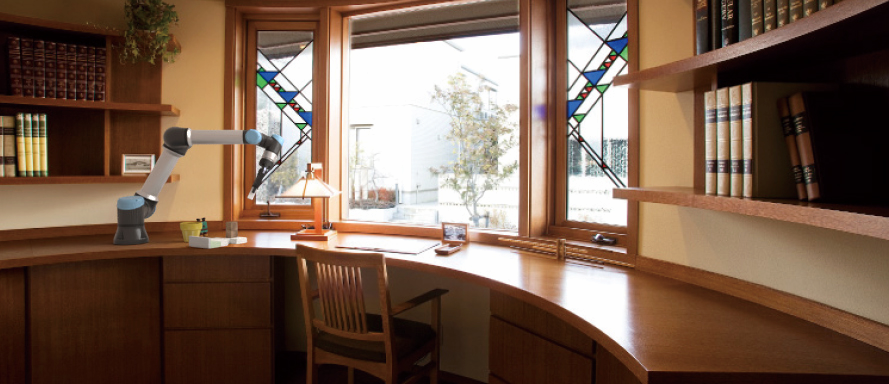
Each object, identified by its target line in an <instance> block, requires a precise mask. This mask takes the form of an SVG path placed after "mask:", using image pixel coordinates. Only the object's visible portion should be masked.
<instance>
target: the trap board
mask: <svg viewBox="0 0 889 384" xmlns="http://www.w3.org/2000/svg"><path fill="white" fill-rule="evenodd" d="M246 243H248V237H245V236H244V237H243V236H238V237H236V238H226V237H208V236H203V237H197V236H189V242H188V246H189V247H193V248H201V249H202V248H203V249H214V248H220V247H226V246H229V244H233V245H239V244H240V245H241V244H246Z"/></svg>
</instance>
